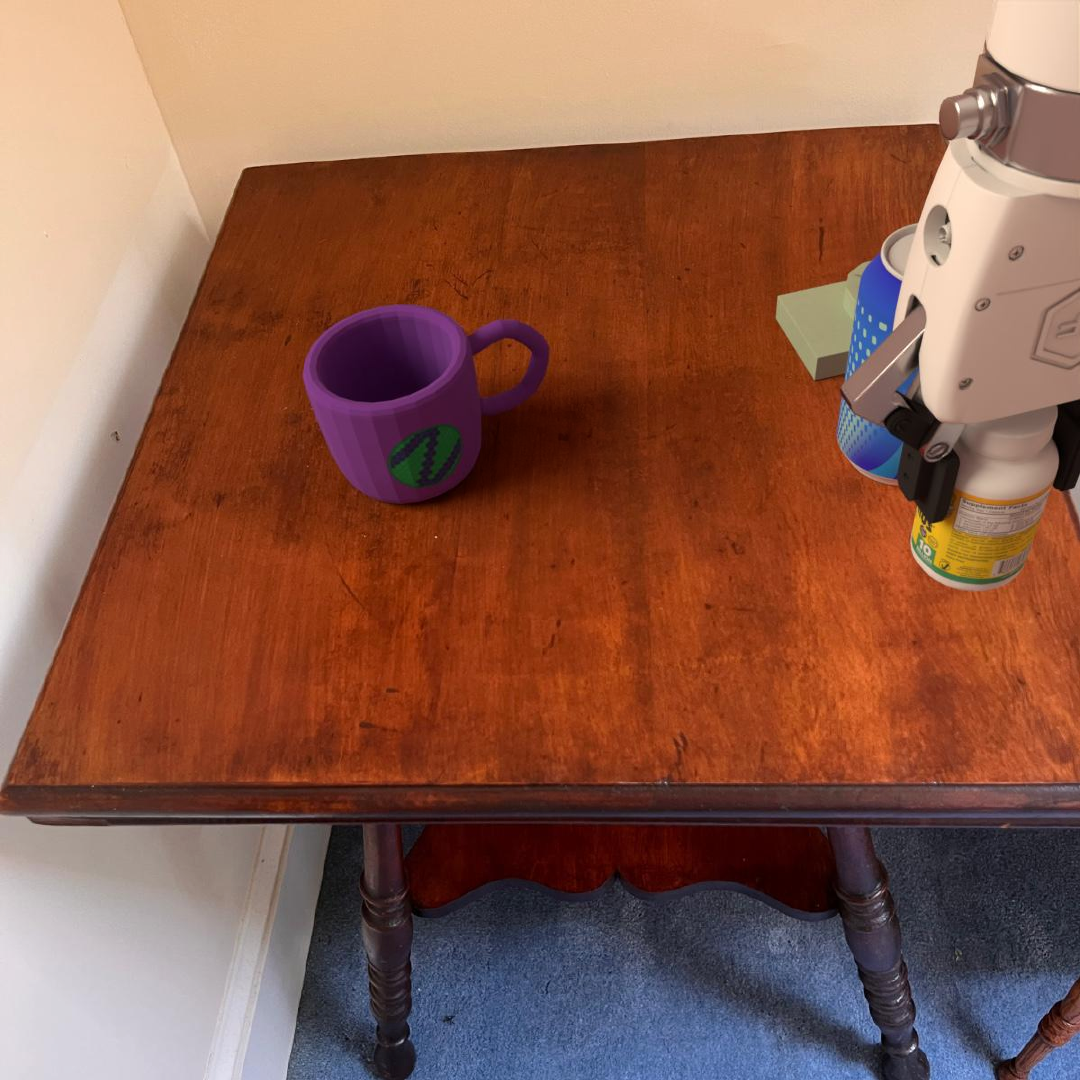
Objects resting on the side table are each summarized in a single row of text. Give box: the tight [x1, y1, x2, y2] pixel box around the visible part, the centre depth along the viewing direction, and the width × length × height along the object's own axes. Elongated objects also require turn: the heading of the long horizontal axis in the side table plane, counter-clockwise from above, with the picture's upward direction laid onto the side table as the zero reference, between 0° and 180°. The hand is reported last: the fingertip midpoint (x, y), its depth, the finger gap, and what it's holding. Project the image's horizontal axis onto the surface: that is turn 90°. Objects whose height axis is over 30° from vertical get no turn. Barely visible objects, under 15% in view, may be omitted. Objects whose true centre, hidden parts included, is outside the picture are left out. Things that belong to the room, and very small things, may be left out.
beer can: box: [836, 222, 932, 487], centre depth 66 cm, size 8×8×16 cm
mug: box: [302, 303, 550, 505], centre depth 73 cm, size 17×11×10 cm, turn 116°
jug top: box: [775, 260, 872, 381], centre depth 79 cm, size 11×8×4 cm
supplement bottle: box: [909, 405, 1059, 592], centre depth 47 cm, size 5×5×10 cm
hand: (985, 482), depth 47 cm, fingers closed on supplement bottle, 5 cm apart
